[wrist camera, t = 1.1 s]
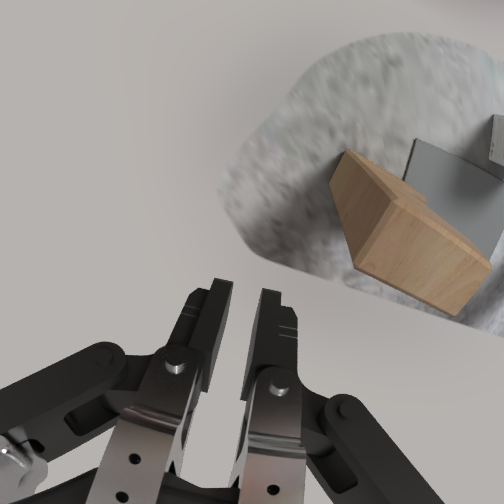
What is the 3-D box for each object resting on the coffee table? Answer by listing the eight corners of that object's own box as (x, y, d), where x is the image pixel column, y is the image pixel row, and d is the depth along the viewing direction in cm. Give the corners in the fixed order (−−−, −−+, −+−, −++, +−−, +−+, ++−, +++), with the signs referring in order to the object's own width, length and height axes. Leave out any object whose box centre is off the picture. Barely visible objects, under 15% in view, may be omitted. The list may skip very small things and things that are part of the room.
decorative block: (416, 189, 33) (496, 269, 16) (394, 223, 36) (453, 322, 19) (347, 146, 32) (398, 194, 15) (326, 184, 35) (349, 268, 18)
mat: (516, 190, 30) (518, 191, 30) (480, 273, 38) (481, 274, 38) (415, 138, 30) (417, 138, 30) (379, 245, 38) (380, 247, 38)
